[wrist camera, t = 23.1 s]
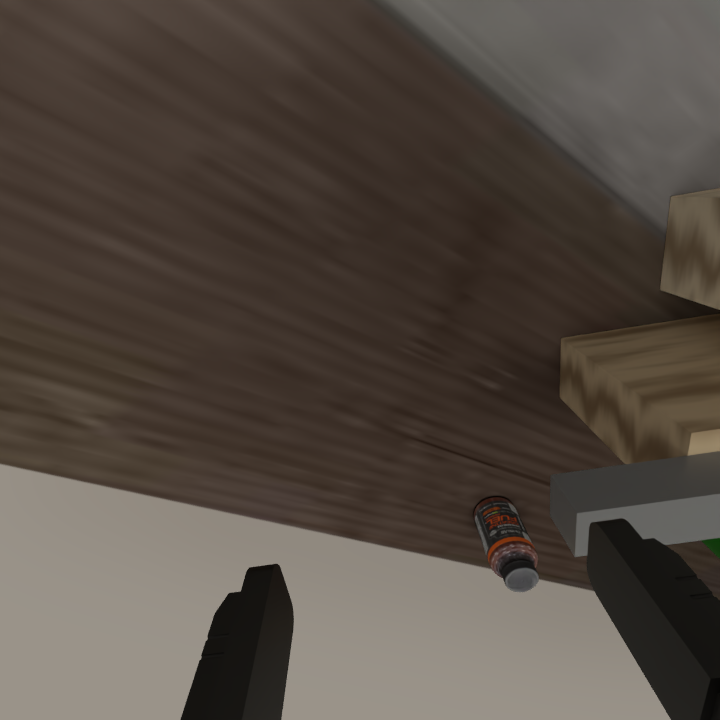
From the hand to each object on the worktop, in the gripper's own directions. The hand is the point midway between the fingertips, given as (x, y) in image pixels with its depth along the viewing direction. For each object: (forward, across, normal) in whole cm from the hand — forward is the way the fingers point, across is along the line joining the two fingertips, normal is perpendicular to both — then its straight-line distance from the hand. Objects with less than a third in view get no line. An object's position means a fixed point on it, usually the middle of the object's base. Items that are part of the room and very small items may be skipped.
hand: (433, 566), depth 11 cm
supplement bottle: (+38, -12, +36) cm, 54 cm away
